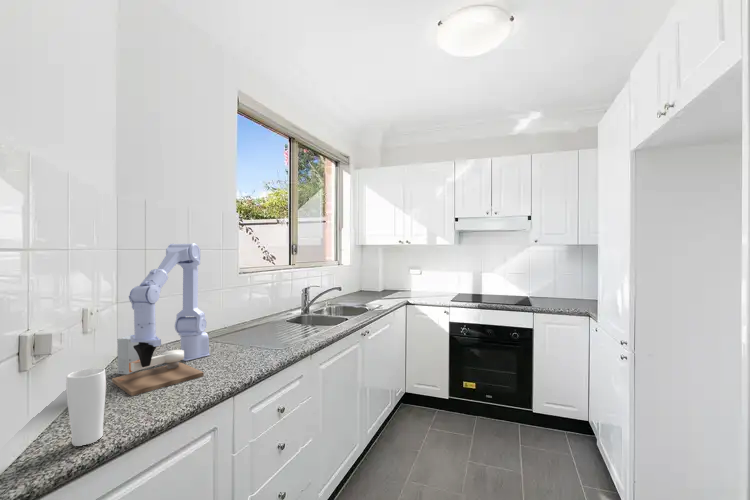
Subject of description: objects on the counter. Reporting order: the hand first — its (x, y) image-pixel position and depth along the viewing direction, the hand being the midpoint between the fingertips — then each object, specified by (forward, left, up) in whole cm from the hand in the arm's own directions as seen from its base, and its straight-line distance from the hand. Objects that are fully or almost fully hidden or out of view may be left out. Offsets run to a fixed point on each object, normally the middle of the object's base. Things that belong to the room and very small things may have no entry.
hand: (145, 366), depth 116 cm
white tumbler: (+22, +31, -5) cm, 38 cm away
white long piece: (-5, -3, -1) cm, 6 cm away
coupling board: (-3, +1, -5) cm, 6 cm away
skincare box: (0, -15, -5) cm, 16 cm away
